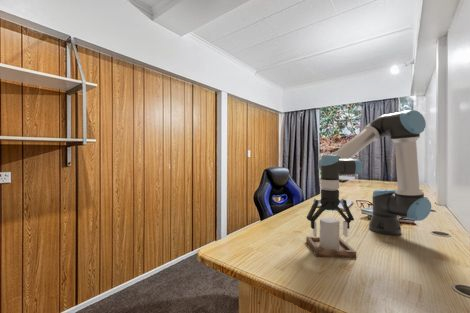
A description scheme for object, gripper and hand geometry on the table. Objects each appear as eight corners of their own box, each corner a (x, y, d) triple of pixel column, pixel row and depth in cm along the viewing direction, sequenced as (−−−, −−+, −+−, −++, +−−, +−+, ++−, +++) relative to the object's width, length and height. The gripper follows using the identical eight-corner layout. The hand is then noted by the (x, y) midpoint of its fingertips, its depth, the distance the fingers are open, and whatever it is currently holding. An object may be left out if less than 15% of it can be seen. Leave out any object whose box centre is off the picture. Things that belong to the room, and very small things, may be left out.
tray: (339, 242, 108) (339, 237, 108) (356, 257, 92) (356, 251, 92) (306, 241, 108) (306, 236, 108) (317, 256, 92) (317, 250, 92)
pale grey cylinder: (341, 251, 95) (341, 223, 95) (321, 249, 97) (321, 222, 97) (336, 244, 103) (336, 218, 103) (318, 242, 105) (318, 217, 105)
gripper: (353, 187, 103) (353, 232, 103) (299, 187, 104) (299, 232, 104) (362, 190, 96) (362, 239, 96) (304, 190, 97) (304, 238, 97)
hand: (329, 235), depth 100 cm, fingers open, 13 cm apart
